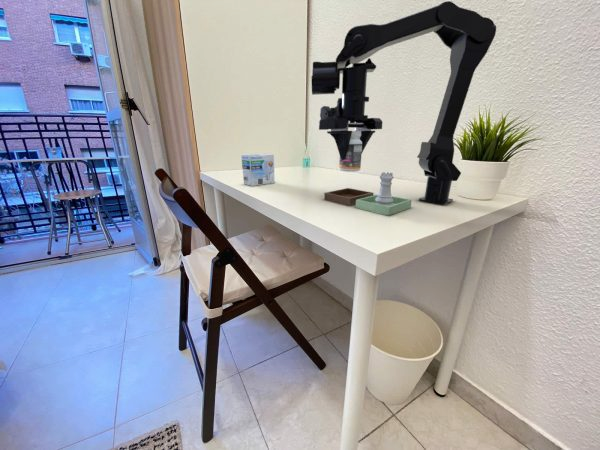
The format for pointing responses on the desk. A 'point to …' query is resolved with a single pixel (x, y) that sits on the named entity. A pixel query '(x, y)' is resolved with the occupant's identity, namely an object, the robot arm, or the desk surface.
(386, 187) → the rook chess piece
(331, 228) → the desk surface
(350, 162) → the pill bottle
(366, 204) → the sage tray
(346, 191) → the walnut tray
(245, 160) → the light bulb box
